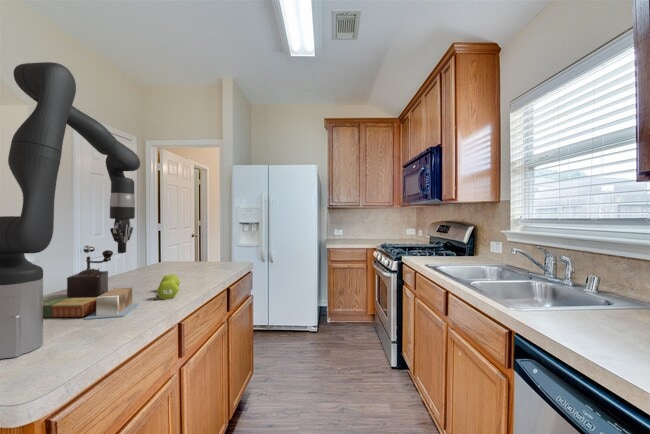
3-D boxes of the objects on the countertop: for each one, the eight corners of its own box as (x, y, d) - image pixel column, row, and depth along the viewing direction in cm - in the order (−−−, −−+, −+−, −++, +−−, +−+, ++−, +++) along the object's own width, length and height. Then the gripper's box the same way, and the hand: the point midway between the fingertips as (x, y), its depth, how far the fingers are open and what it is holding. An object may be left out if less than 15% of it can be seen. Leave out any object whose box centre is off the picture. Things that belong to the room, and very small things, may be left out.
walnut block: (132, 303, 104) (117, 314, 93) (113, 304, 103) (96, 315, 91) (132, 287, 104) (117, 296, 93) (113, 288, 103) (96, 297, 91)
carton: (82, 317, 90) (82, 304, 89) (34, 317, 90) (34, 304, 90) (103, 308, 98) (103, 296, 98) (59, 308, 98) (59, 296, 98)
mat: (123, 316, 91) (123, 315, 91) (83, 319, 89) (83, 318, 89) (138, 304, 104) (138, 303, 104) (104, 306, 101) (104, 305, 101)
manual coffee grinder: (100, 299, 110) (101, 254, 110) (65, 301, 107) (66, 255, 106) (114, 289, 125) (115, 249, 125) (84, 291, 121) (84, 250, 121)
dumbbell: (178, 299, 112) (178, 281, 112) (155, 301, 108) (155, 283, 108) (180, 289, 127) (180, 273, 127) (160, 291, 123) (160, 274, 123)
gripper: (126, 205, 97) (125, 254, 97) (141, 207, 109) (140, 250, 109) (101, 205, 95) (100, 255, 95) (119, 206, 108) (118, 251, 107)
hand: (121, 252), depth 102 cm, fingers closed
